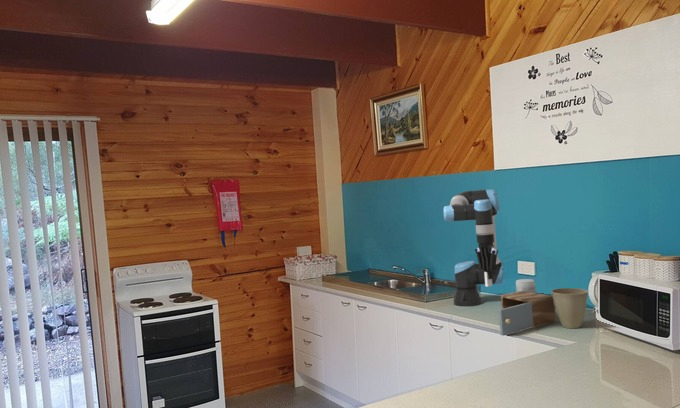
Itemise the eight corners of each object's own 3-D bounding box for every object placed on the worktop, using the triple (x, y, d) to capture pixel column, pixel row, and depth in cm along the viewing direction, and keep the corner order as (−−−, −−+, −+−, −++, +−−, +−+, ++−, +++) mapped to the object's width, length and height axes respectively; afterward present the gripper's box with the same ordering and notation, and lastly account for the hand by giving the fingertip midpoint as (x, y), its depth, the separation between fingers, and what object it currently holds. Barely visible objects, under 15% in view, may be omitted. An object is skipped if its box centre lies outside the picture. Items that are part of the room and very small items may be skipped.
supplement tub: (540, 307, 279) (538, 279, 279) (531, 311, 273) (529, 282, 273) (523, 305, 286) (521, 278, 286) (514, 309, 280) (512, 281, 280)
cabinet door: (531, 326, 242) (529, 302, 242) (536, 327, 240) (534, 303, 240) (500, 335, 232) (498, 309, 232) (505, 336, 230) (503, 310, 229)
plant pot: (587, 331, 229) (584, 294, 228) (550, 329, 237) (548, 293, 236) (592, 323, 241) (590, 288, 241) (557, 321, 249) (555, 287, 249)
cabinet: (502, 319, 260) (500, 295, 260) (523, 314, 266) (522, 290, 266) (534, 327, 242) (532, 300, 242) (556, 321, 248) (554, 296, 248)
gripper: (501, 233, 237) (505, 286, 237) (481, 232, 248) (485, 283, 249) (488, 235, 233) (492, 289, 234) (468, 234, 245) (472, 285, 245)
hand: (488, 286), depth 241 cm, fingers closed
